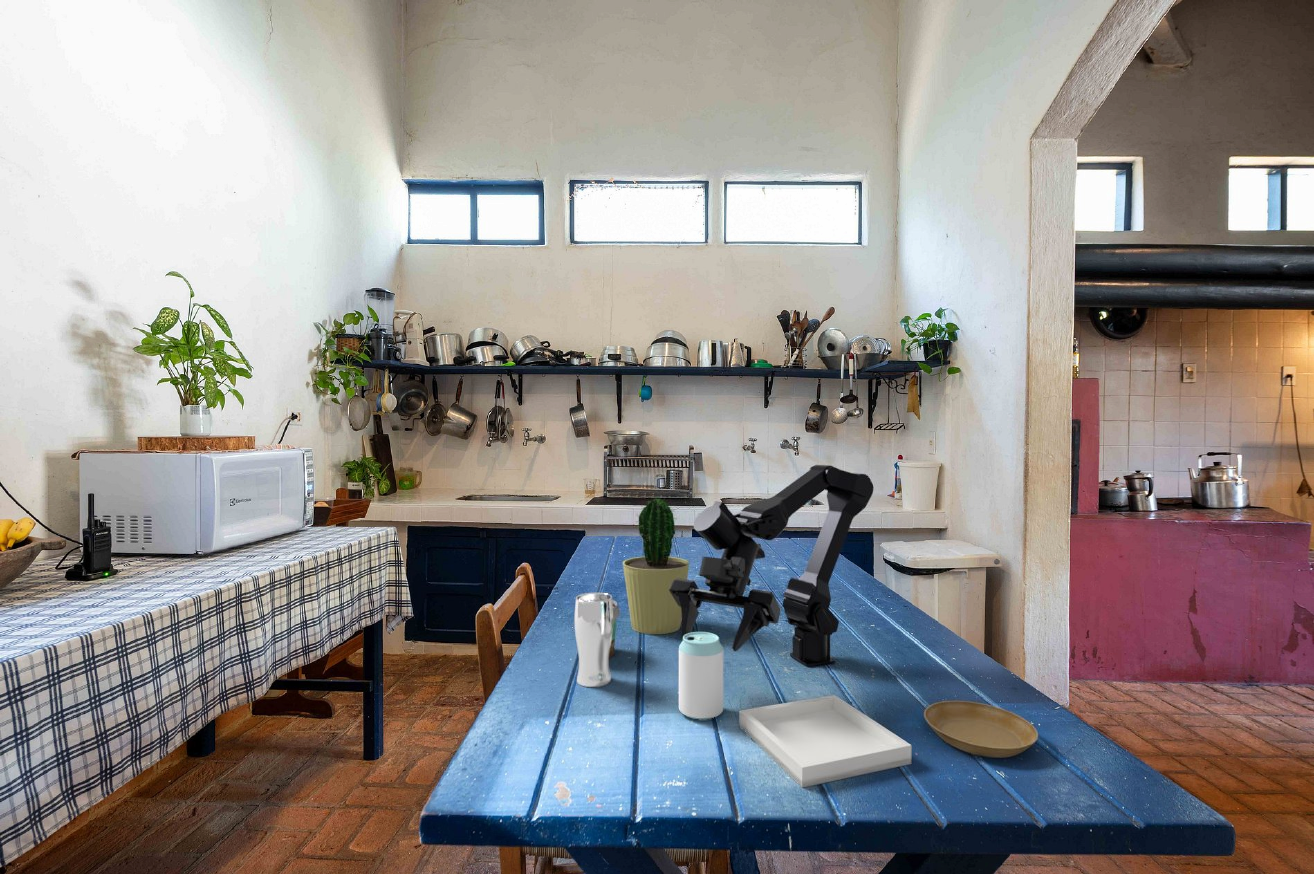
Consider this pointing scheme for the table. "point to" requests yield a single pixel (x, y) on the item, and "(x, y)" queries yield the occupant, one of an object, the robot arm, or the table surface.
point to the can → (701, 675)
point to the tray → (823, 740)
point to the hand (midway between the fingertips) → (708, 644)
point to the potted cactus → (654, 573)
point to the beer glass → (593, 637)
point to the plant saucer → (980, 728)
